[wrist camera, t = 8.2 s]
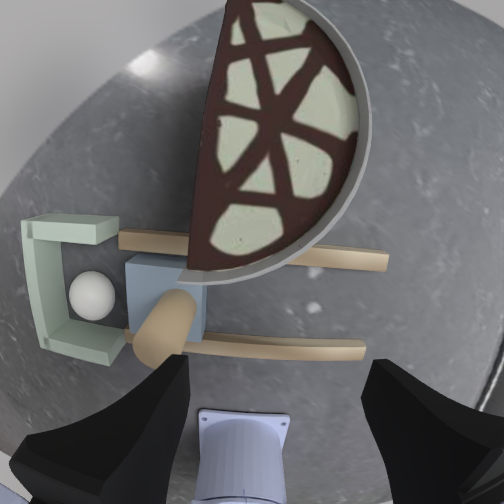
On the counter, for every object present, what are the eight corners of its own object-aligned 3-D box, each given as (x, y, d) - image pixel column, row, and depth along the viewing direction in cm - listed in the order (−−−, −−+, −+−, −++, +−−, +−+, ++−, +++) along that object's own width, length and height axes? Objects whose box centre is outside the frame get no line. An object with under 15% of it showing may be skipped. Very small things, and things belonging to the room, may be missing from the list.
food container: (304, 250, 20) (351, 319, 10) (211, 237, 19) (175, 298, 10) (329, 73, 17) (390, 1, 7) (237, 57, 16) (227, -33, 7)
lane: (357, 351, 22) (362, 359, 21) (131, 334, 21) (125, 342, 20) (381, 250, 20) (388, 254, 18) (125, 228, 19) (118, 231, 18)
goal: (126, 342, 21) (109, 366, 18) (61, 328, 21) (40, 347, 18) (119, 216, 19) (95, 224, 16) (48, 213, 19) (20, 220, 15)
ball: (100, 296, 21) (129, 310, 20) (69, 319, 19) (96, 337, 17) (89, 258, 20) (119, 268, 19) (54, 279, 17) (81, 294, 16)
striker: (205, 325, 21) (187, 392, 14) (140, 317, 21) (100, 376, 14) (208, 259, 20) (185, 307, 12) (138, 253, 20) (86, 293, 12)
